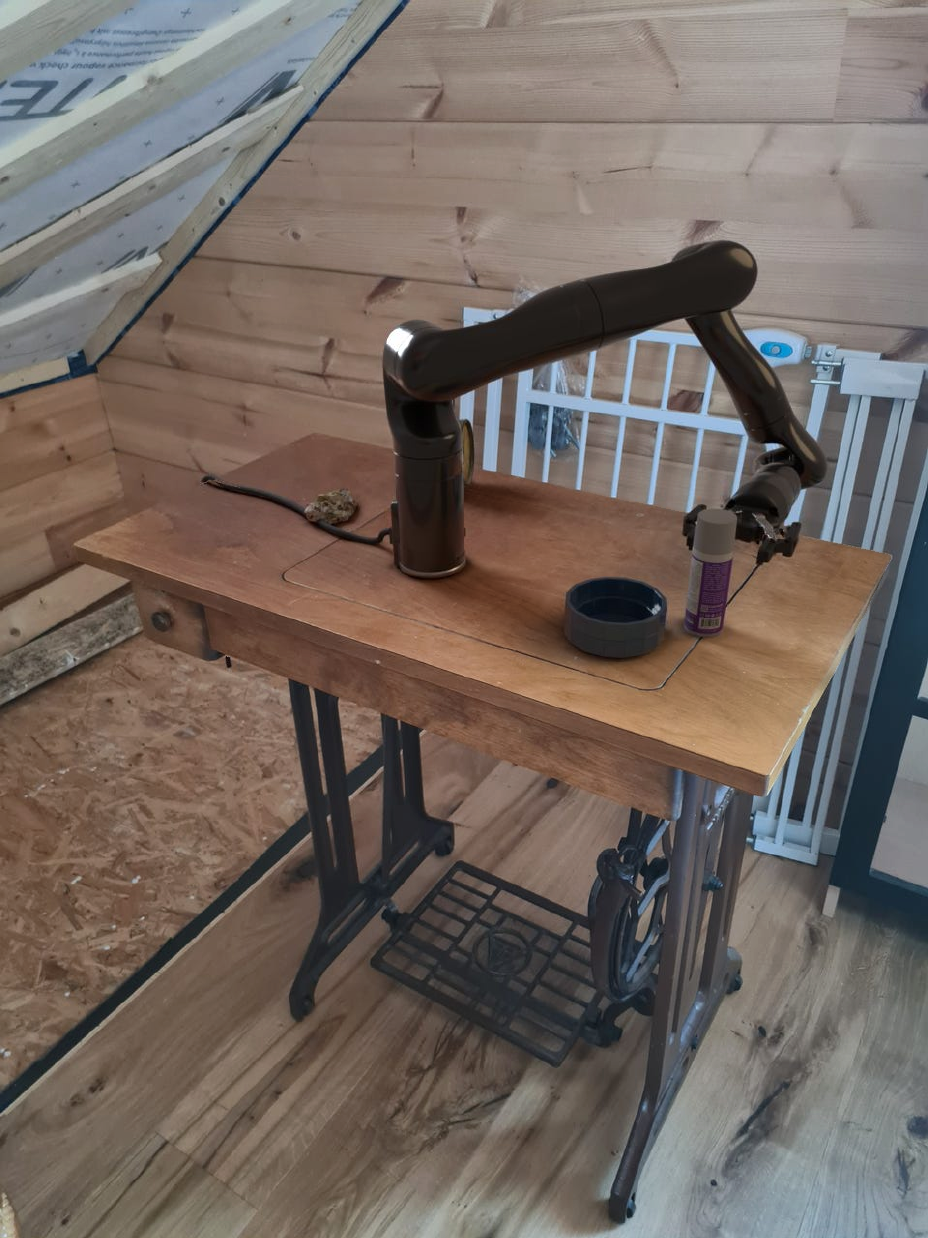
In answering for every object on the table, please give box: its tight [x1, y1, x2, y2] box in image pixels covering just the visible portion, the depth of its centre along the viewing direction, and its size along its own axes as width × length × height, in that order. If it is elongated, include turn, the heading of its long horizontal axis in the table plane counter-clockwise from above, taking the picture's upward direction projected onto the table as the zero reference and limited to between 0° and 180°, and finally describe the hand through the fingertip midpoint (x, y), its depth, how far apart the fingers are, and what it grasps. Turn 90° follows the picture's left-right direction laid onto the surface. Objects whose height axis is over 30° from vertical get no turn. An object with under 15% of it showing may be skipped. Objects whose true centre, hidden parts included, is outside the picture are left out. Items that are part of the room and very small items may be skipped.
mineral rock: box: [304, 488, 357, 525], centre depth 146 cm, size 11×4×8 cm
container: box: [683, 508, 737, 638], centre depth 110 cm, size 5×5×15 cm
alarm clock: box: [452, 398, 475, 487], centre depth 151 cm, size 11×5×16 cm, turn 168°
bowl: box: [563, 576, 668, 659], centre depth 111 cm, size 12×12×5 cm
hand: (725, 550), depth 114 cm, fingers open, 8 cm apart
